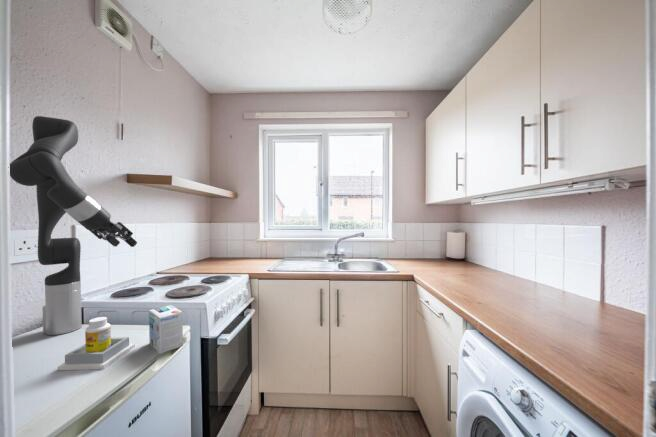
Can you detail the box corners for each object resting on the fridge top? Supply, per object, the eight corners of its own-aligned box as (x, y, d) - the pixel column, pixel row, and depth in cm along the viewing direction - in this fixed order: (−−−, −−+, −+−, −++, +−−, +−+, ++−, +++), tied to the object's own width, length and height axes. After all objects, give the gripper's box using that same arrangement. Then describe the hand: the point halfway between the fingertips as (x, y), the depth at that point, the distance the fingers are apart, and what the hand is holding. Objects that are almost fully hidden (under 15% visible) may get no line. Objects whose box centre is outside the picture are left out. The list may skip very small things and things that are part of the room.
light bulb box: (148, 343, 86) (148, 309, 86) (172, 336, 91) (171, 304, 91) (159, 354, 79) (158, 317, 79) (184, 346, 84) (183, 311, 84)
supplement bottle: (82, 356, 77) (81, 320, 76) (106, 348, 81) (105, 314, 81) (91, 361, 74) (90, 324, 74) (115, 352, 79) (114, 317, 79)
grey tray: (57, 370, 72) (57, 357, 72) (95, 348, 84) (94, 336, 84) (104, 368, 72) (103, 355, 72) (134, 346, 84) (134, 335, 84)
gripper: (112, 203, 85) (147, 236, 96) (82, 204, 89) (119, 236, 100) (93, 220, 80) (133, 253, 91) (62, 221, 84) (104, 252, 95)
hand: (126, 244), depth 96 cm, fingers open, 8 cm apart
